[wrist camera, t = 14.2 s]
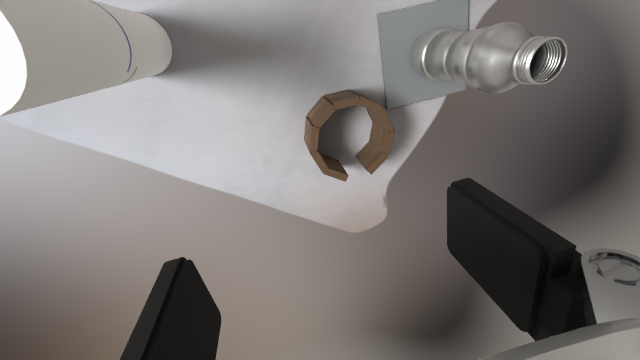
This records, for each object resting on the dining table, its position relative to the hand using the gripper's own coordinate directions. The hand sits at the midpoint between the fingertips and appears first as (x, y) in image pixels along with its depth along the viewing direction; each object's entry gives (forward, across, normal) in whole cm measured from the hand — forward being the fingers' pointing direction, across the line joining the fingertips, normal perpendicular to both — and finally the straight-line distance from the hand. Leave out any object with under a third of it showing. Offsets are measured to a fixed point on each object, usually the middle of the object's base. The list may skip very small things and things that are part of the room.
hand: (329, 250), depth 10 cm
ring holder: (+34, -8, +7) cm, 36 cm away
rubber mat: (+34, -22, -1) cm, 41 cm away
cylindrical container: (+34, +15, -10) cm, 39 cm away
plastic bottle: (+34, -22, -1) cm, 41 cm away
